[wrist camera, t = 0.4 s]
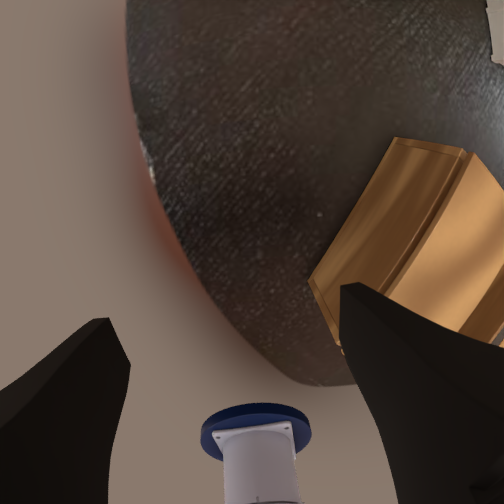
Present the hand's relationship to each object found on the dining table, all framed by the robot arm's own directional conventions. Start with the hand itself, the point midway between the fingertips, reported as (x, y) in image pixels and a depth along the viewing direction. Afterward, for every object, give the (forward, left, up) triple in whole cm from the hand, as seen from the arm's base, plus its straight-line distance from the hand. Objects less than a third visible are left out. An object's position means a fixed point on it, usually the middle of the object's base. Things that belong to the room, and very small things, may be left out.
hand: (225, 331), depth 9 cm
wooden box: (-4, -13, -10) cm, 17 cm away
